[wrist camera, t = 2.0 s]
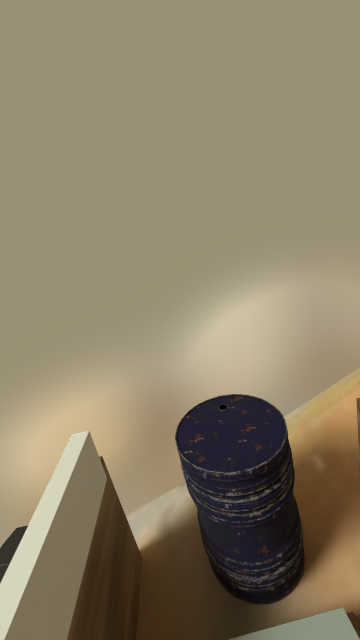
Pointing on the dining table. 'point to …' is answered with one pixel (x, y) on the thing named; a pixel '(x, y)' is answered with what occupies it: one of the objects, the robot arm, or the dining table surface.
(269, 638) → the grey offcut plank
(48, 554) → the robot arm
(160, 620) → the dining table surface
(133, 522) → the dining table surface
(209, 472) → the dark blue cylinder
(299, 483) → the dining table surface
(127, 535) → the wooden bookend pair
